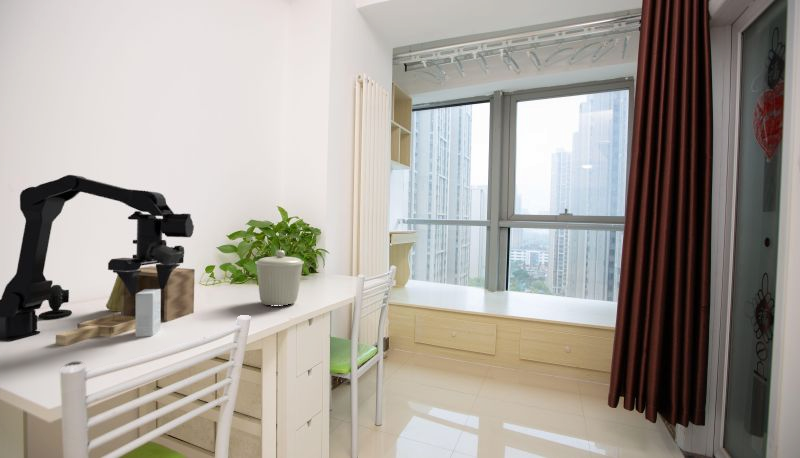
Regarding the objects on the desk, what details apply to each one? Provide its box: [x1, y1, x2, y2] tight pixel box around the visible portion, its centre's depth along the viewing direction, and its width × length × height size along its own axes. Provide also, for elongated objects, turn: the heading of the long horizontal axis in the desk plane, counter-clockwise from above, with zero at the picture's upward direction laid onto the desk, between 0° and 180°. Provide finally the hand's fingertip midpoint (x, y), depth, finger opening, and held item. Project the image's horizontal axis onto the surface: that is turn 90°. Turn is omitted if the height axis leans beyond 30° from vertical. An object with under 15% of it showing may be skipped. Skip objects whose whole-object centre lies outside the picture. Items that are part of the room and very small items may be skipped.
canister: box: [254, 249, 305, 306], centre depth 134 cm, size 18×18×21 cm
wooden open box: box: [120, 265, 196, 323], centre depth 114 cm, size 11×17×15 cm, turn 80°
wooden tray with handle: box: [55, 314, 136, 347], centre depth 95 cm, size 18×11×3 cm, turn 170°
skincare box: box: [134, 289, 161, 338], centre depth 97 cm, size 6×4×12 cm
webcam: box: [37, 284, 73, 321], centre depth 108 cm, size 8×8×10 cm
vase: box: [105, 274, 121, 312], centre depth 116 cm, size 6×6×14 cm
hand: (148, 291), depth 97 cm, fingers open, 9 cm apart
